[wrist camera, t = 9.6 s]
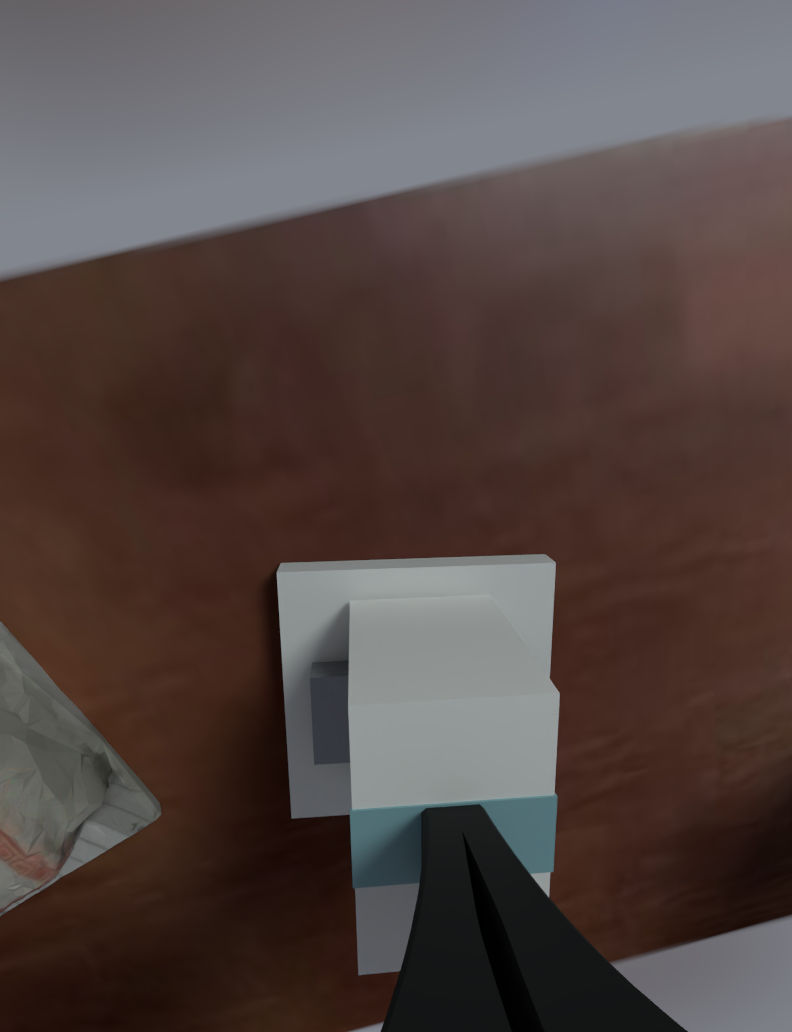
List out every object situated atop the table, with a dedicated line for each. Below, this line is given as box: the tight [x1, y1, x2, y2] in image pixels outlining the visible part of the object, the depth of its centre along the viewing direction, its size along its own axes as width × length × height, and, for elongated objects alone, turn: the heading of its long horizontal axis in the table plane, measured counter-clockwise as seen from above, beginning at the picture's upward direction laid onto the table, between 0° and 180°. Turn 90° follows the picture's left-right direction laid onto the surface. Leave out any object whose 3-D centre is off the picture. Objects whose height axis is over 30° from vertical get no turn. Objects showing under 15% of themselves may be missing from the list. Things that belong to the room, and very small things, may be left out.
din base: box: [277, 554, 556, 819], centre depth 19 cm, size 9×9×1 cm
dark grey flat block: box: [310, 661, 350, 765], centre depth 17 cm, size 7×3×1 cm, turn 91°
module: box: [348, 595, 560, 975], centre depth 15 cm, size 5×7×6 cm, turn 1°
